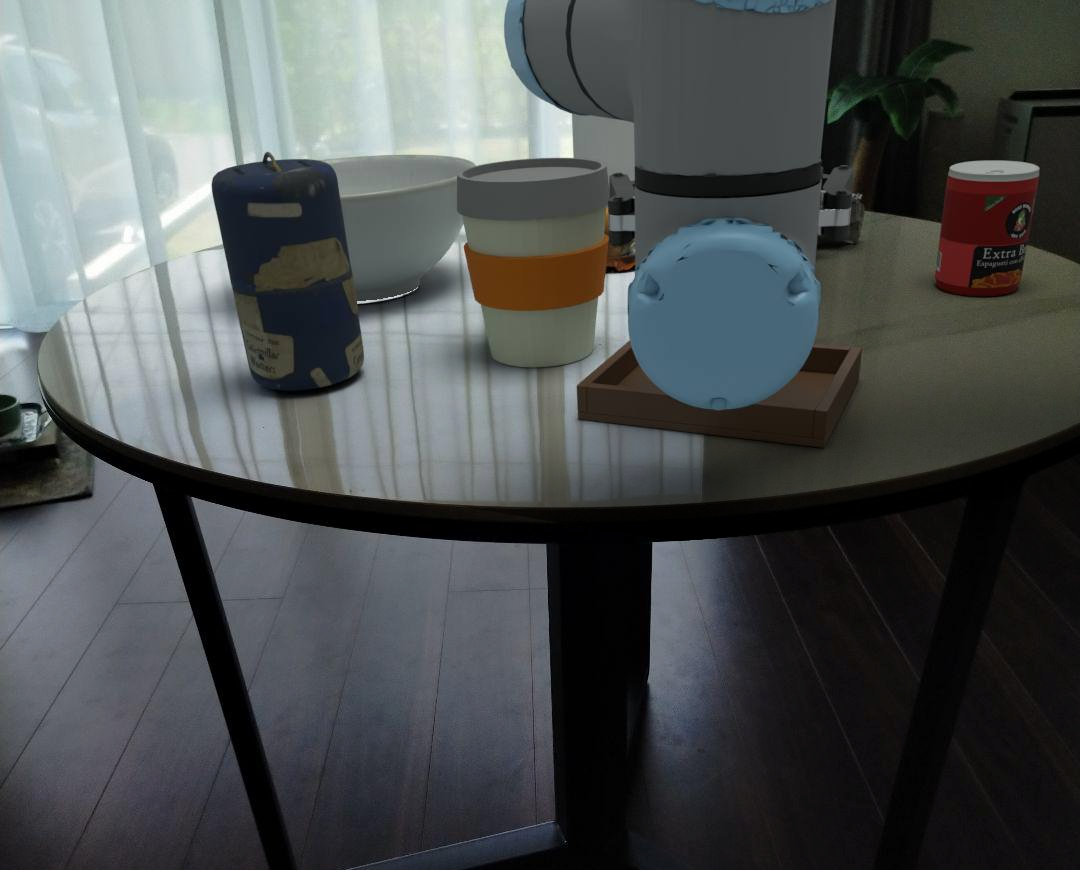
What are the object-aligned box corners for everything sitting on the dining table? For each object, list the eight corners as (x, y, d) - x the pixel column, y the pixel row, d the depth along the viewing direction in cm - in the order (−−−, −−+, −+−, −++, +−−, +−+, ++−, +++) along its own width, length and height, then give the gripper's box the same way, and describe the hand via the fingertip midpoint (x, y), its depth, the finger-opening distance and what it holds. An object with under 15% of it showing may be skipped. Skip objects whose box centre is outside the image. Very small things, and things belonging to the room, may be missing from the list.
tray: (859, 380, 76) (862, 347, 75) (824, 448, 65) (827, 411, 64) (641, 360, 83) (640, 329, 82) (577, 419, 72) (576, 385, 71)
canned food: (977, 302, 92) (996, 177, 86) (915, 284, 98) (929, 166, 93) (1038, 288, 94) (1061, 166, 89) (974, 272, 101) (991, 157, 96)
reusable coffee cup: (443, 351, 88) (424, 173, 81) (556, 320, 94) (547, 153, 87) (525, 385, 79) (512, 188, 72) (644, 349, 85) (643, 164, 78)
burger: (645, 245, 120) (645, 180, 117) (678, 266, 110) (679, 195, 106) (549, 255, 118) (545, 190, 115) (573, 278, 108) (570, 207, 104)
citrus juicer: (703, 209, 137) (707, 48, 128) (679, 236, 123) (681, 57, 113) (594, 209, 142) (590, 53, 132) (559, 235, 128) (551, 63, 118)
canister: (366, 355, 88) (334, 139, 80) (368, 391, 80) (333, 153, 71) (256, 367, 87) (212, 148, 78) (247, 404, 79) (196, 165, 70)
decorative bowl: (434, 250, 124) (423, 147, 118) (527, 295, 103) (519, 172, 97) (217, 285, 114) (193, 174, 109) (270, 343, 93) (244, 210, 87)
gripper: (531, 315, 55) (585, 228, 74) (928, 314, 51) (876, 223, 71) (522, 172, 51) (582, 120, 71) (949, 159, 48) (888, 109, 67)
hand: (729, 172), depth 71 cm, fingers closed on grey container, 8 cm apart
